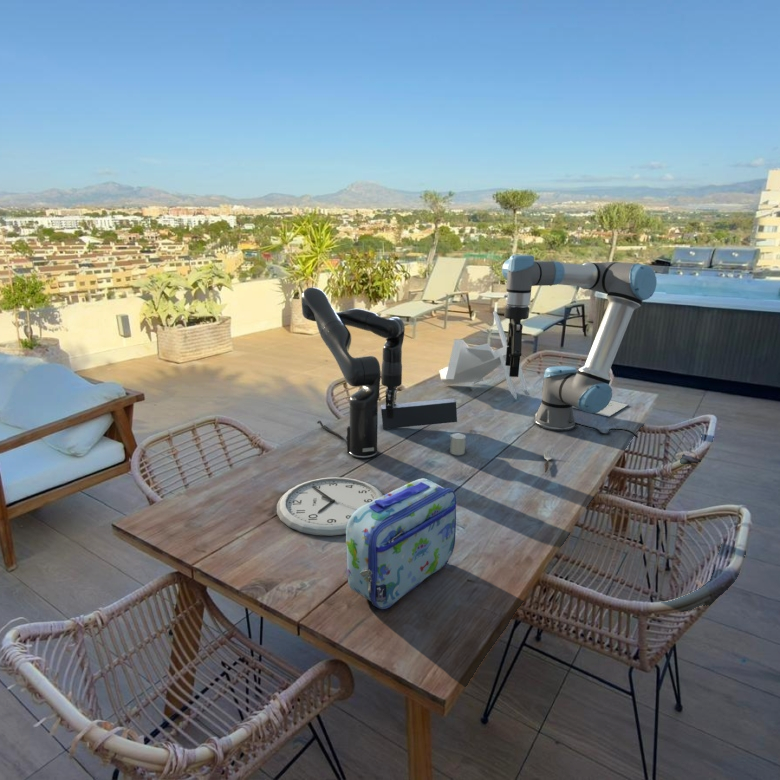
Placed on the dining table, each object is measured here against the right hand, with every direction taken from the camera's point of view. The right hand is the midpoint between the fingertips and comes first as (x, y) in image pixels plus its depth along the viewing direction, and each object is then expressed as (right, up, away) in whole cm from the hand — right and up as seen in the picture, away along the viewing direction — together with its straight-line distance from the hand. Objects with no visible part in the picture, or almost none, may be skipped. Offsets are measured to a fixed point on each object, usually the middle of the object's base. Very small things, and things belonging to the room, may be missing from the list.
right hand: (511, 370), depth 171 cm
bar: (-28, -19, +28) cm, 44 cm away
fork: (+11, -30, 0) cm, 33 cm away
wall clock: (-55, -38, -28) cm, 73 cm away
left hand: (-39, -16, +27) cm, 50 cm away
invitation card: (+52, -14, +56) cm, 77 cm away
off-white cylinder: (-17, -27, +7) cm, 33 cm away
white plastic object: (+2, -7, +73) cm, 73 cm away
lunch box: (-37, -47, -58) cm, 83 cm away
